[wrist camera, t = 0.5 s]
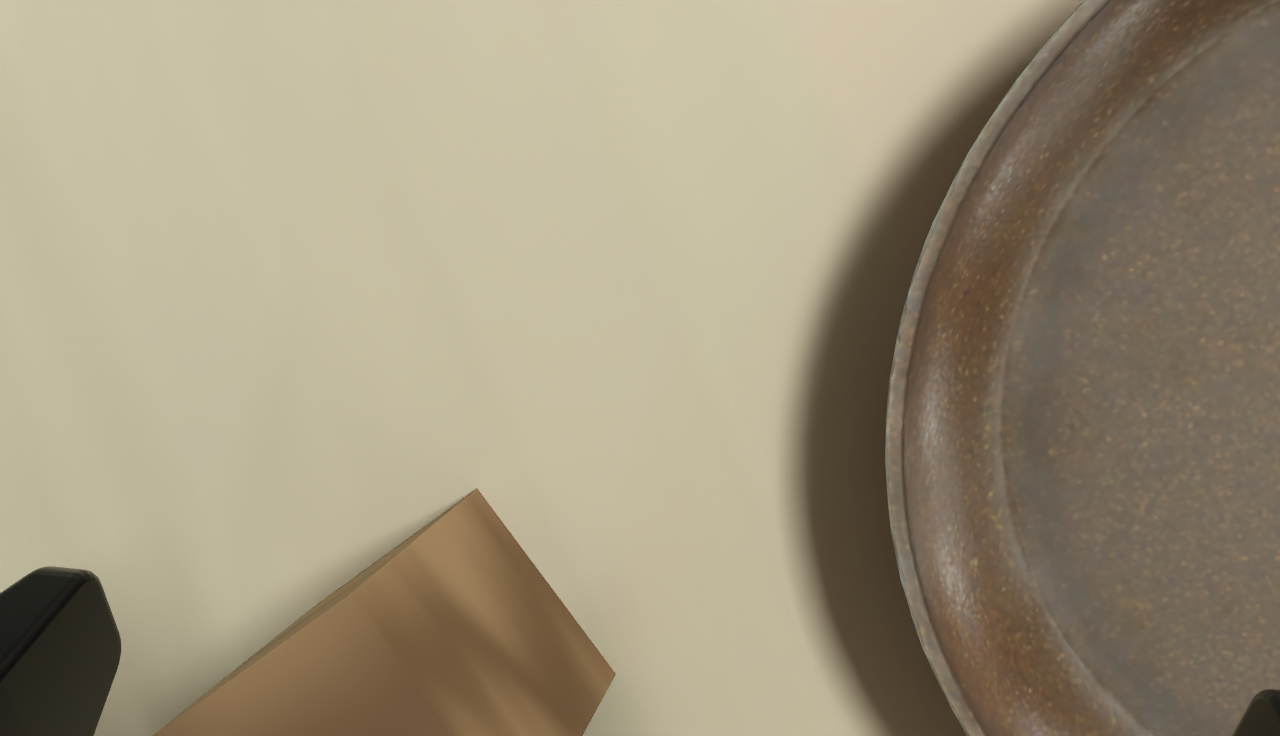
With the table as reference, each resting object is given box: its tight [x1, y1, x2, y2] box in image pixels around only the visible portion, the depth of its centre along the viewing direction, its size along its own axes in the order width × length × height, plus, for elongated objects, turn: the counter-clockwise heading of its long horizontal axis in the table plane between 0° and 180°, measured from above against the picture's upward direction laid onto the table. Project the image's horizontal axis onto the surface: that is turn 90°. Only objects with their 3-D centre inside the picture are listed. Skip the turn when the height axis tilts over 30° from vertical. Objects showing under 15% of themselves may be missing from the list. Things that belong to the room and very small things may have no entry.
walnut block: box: [154, 489, 615, 736], centre depth 23 cm, size 5×5×6 cm
